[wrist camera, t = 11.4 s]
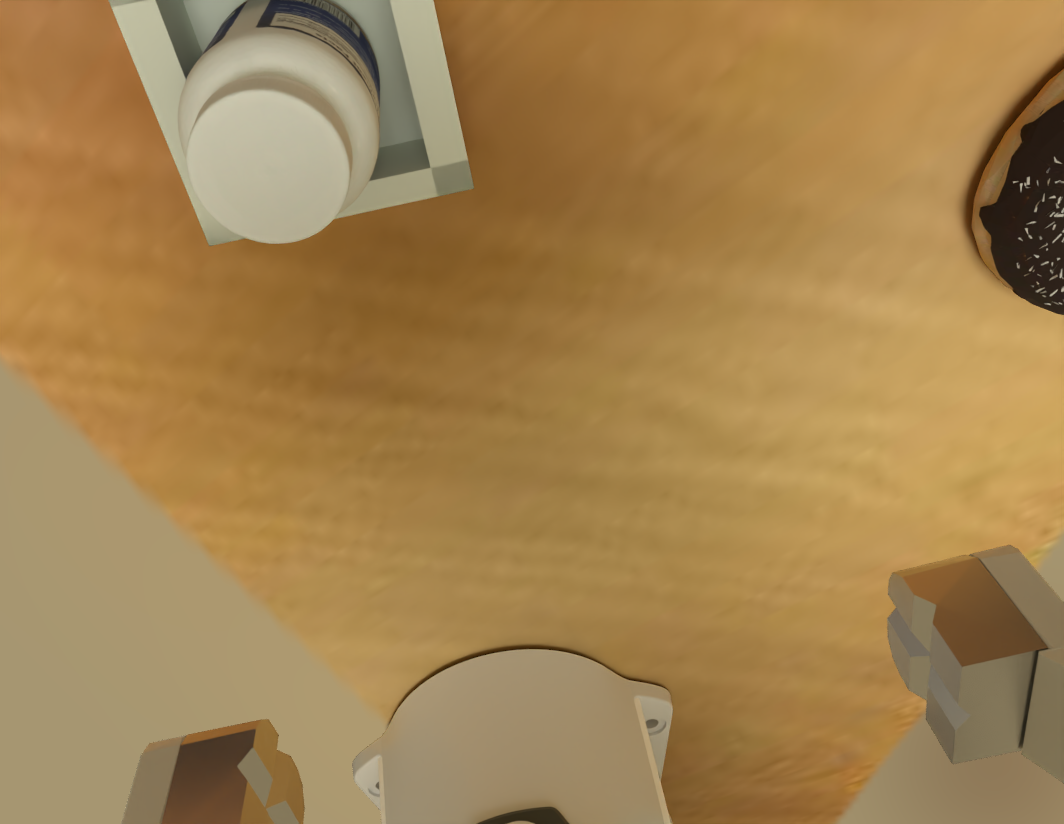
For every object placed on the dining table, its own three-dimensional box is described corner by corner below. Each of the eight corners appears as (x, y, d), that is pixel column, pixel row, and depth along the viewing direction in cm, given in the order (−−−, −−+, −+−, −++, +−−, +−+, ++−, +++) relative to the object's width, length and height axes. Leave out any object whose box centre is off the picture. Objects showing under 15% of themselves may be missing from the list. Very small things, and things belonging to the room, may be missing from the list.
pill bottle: (264, 172, 32) (225, 298, 24) (184, 20, 29) (108, 108, 21) (405, 118, 32) (412, 228, 24) (338, -42, 29) (321, 24, 21)
